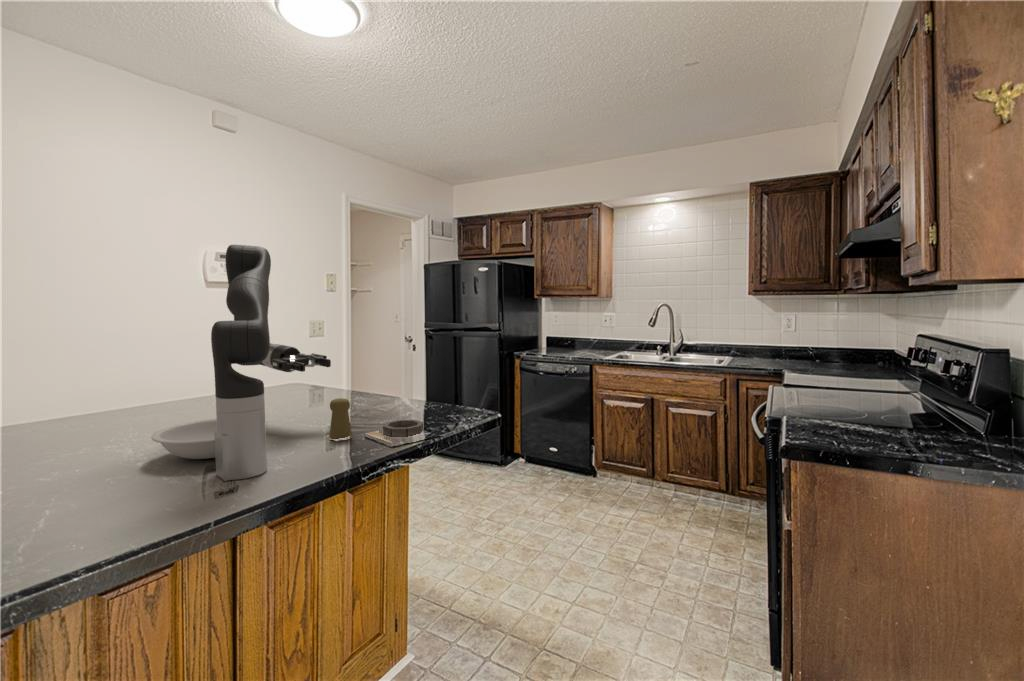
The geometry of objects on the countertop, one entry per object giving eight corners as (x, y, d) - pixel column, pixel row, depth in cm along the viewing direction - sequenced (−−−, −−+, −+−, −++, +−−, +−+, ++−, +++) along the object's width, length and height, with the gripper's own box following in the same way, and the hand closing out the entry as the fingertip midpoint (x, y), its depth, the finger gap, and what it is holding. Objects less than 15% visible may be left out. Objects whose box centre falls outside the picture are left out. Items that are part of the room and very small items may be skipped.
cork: (347, 441, 133) (346, 401, 132) (325, 441, 133) (324, 401, 132) (355, 435, 139) (354, 396, 138) (334, 435, 139) (333, 396, 138)
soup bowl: (217, 474, 107) (215, 444, 106) (125, 467, 112) (124, 439, 111) (288, 444, 130) (287, 419, 130) (210, 439, 135) (209, 416, 135)
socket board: (391, 447, 127) (391, 433, 126) (364, 437, 136) (364, 424, 136) (442, 436, 138) (441, 423, 138) (413, 427, 148) (413, 415, 147)
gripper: (258, 347, 140) (294, 355, 132) (301, 342, 152) (337, 349, 144) (258, 373, 141) (295, 383, 133) (301, 366, 153) (337, 374, 145)
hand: (317, 365), depth 139 cm, fingers open, 8 cm apart
